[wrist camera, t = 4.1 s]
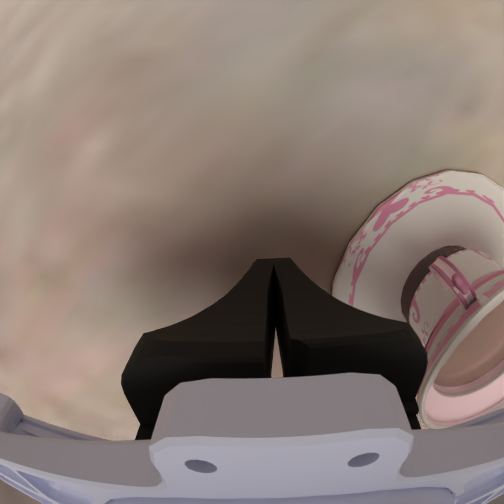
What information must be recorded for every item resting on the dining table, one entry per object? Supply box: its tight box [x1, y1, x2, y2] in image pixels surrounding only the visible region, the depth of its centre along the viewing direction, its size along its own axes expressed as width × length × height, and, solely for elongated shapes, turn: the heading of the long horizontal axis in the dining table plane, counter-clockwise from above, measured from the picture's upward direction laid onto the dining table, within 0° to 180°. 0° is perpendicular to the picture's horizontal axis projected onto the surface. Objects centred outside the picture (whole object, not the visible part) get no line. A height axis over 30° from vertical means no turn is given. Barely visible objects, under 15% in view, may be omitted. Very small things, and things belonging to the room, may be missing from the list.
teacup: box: [332, 170, 504, 429], centre depth 11 cm, size 12×12×6 cm
